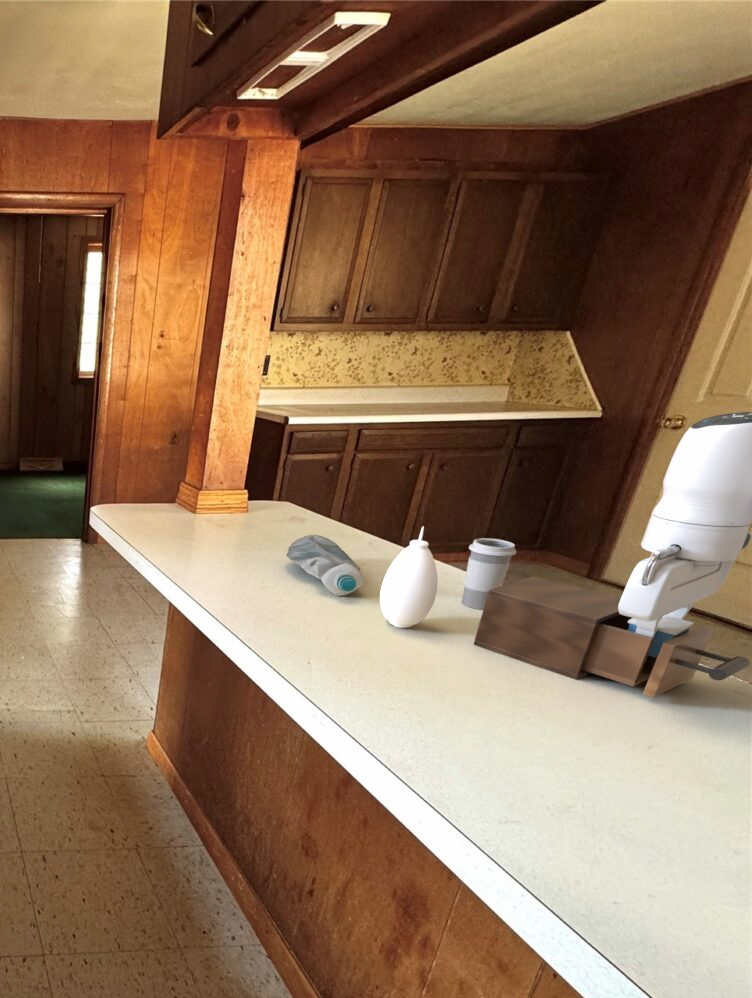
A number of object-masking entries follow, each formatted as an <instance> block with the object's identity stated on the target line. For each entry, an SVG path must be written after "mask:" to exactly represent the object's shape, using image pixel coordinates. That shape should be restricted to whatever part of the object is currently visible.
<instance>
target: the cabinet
mask: <svg viewBox="0 0 752 998" xmlns="http://www.w3.org/2000/svg"><path fill="white" fill-rule="evenodd" d="M621 597H622V596H621ZM621 597H620V596H616V595H613V594H608V593H605V592H600V591H596V590H592V589H588V588H584V587H580V586H576V585H572V584H567V583H564V582H559V581H555V580H551V579H547V578H543V577H539V576H535V575H531V576H529V577H526V578H522V579H520V580H515V581H513V582H510V583H507V584H502V586H500V587H497V588H494V589H490V590H489V592H488V595H487V599H486V602H485V606H484V609H482V612H481V616H480V620H479V622H478V623H479V624H478V627H477V631H476V634H475V637H474V641H473V645H474V646H477V647H479V648H483V649H486V650H488V651H492V652H494V653H498V654H501V655H503V656H506V657H509V658H512V659H515V660H518V661H520V662H524V663H526V664H530V665H532V666H536V667H538V668H541V669H544V670H547V671H549V672H553V673H555V674H558V675H562V676H565V677H568V678H570V679H573V680H578V679H580V678H583V677H584V676H586V675H590V674H591V673H590V672H587V671H584V670H582V668H583V665H584V662H585V659H586V656H587V654H588V651H589V648H590V645H591V642H592V640H593V637H594V634H595V631H596V628H597V626H598V623H600V622H602V621H605V620H607V619H610V618H613V617H615V616H618V615H620V613H619V611H618V605H619V602H620V599H621Z"/></svg>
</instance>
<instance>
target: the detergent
mask: <svg viewBox="0 0 752 998" xmlns="http://www.w3.org/2000/svg"><path fill="white" fill-rule="evenodd" d="M286 557H287V558H288V559H289V561H291V562H293V563H294V564H297V565H298V566H300V568H302V570H303V571H304V572H305V573H306V574H309V575H312V576H313V577H314V578H316V579H318V580H320V581H321V582H322V584H323V585H324V586H325V588H326V589H327V590H328V591H329V592H330V593H332V594H333V595H335V596H337V597H342V596H346V595H349V594H352V593H353V592H354V591H356V590H357V589H359V588H360V587H361V586H362V584H364V581H365V579H364V575H362V574H363V573H361V567H360V566H359V565H358V564H357V563H356V562H355V561H354V560H353V559H352V558H351V557H350V556H349V554H348V553H346V551H344V550H343V549H342V548H341V546H340V545H338V544H337V543H336V542H335V541H333V540H331V539H329V538H328V537H325V536H322V535H319V534H308V535H305V536H303V537H300V538H298V539H296V540H295V541H293V542H292V543H291V544H290V545H289V547H288V548H287V553H286Z"/></svg>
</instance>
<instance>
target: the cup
mask: <svg viewBox="0 0 752 998" xmlns="http://www.w3.org/2000/svg"><path fill="white" fill-rule="evenodd" d="M515 547H516V544H515V543H513V542H511V541H507V540H504V539H497V538H486V537H482V538H481V537H480V538H475V539H474V540H473V542H472V543H471V544H469V546H468V549H469V550H470V555H469V557H468V561H467V566H466V572H465V577H464V582H463V586H464V587H463V593H462V599H461V605H463V606H465V607H468V608H471V609H476V610H483V609H484V606H485V602H486V599H487V595H488V592H489V590H490V589H494V588H497V587H500V586H503V585H504V580H505V579H506V575H507V573H508V570H509V568H510V565H511V559H512V556H515V555H516V554H517V549H516V548H515Z"/></svg>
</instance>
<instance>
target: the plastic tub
mask: <svg viewBox="0 0 752 998" xmlns="http://www.w3.org/2000/svg"><path fill="white" fill-rule="evenodd" d="M628 623H630V625H629V628H628V631H631V632H636V629H637V626H636V618H632V619H630V620H628ZM694 624H695V622H694V621H689V620H685V619H683V620H681V619H677V618H673V617H669V616H665V615H664V616H663V617H662V619H661V620H660V621H659V624H658V628H657V629H659V632H658V634H657V637H656V639H655V640H654V641H653V643H652V646H651V648H650V651H649V653H648V656H652V657H655V658H657V657H658V654H659V652H660V649H661V647H662V645H663V643H664V642H666V641H668V640H670V639H673V638H675V637H677V636H679V635H682V634H684V633H686V632H688V631H690V628H691V627H693V626H694Z"/></svg>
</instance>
